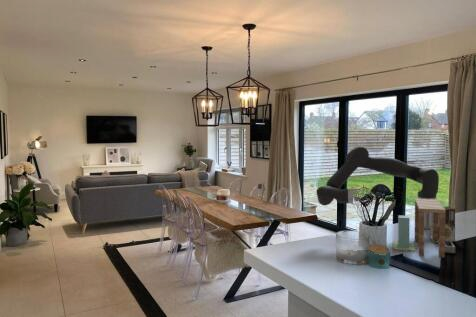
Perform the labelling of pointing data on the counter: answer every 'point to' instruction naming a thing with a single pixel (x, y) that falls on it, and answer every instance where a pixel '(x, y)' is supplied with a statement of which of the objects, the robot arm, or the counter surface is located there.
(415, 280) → the counter surface
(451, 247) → the pit box
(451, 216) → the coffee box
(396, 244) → the mat
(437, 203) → the small wooden table
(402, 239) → the teal block
